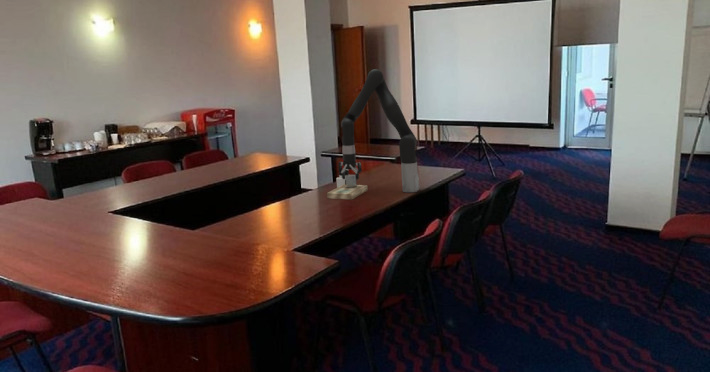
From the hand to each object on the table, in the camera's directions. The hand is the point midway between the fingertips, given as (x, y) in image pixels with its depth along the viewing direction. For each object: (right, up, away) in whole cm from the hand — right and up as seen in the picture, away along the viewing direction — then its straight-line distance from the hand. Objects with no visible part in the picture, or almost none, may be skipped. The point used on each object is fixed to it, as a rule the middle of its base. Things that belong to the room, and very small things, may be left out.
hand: (350, 179), depth 336 cm
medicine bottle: (-4, -6, +16) cm, 17 cm away
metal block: (+1, -7, +1) cm, 8 cm away
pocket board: (-2, -10, -3) cm, 10 cm away
